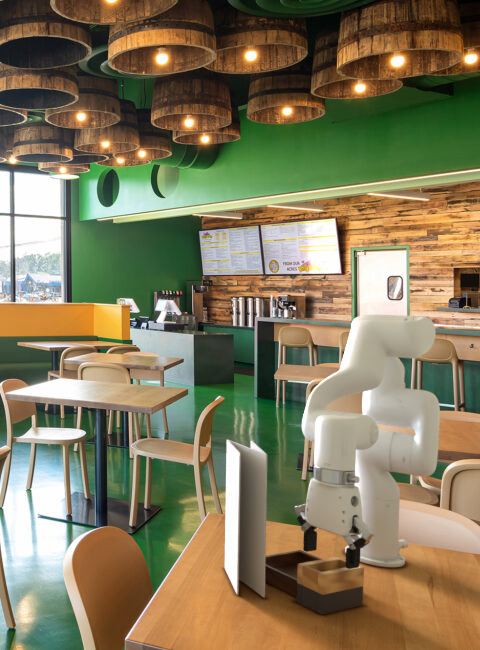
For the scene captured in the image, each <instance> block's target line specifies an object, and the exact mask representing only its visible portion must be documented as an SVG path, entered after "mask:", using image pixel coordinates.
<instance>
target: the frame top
mask: <svg viewBox="0 0 480 650" xmlns="http://www.w3.org/2000/svg"><path fill="white" fill-rule="evenodd" d="M321 559H322V560H316V561H311V562H305V563H300V564H298V571H297V583H299V584H301V585H303V586H305V587H307V588H309V589H311V590H314V591H316V592H318V593H320V594H322V595H324V594H329V593H333V592H338V591H343V590H348V589H352V588H357V587H362V586H363V587H364V578H365V577H364V576H365V566H363V565H360V564H359V567H358V568H352V569H348V568H346V566H345V563H346V558H343V557H340V556H333V557H327V558H321Z"/></svg>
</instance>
